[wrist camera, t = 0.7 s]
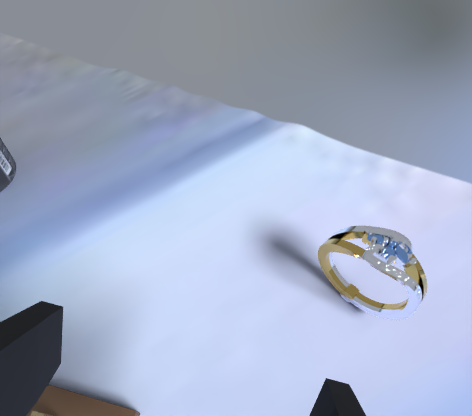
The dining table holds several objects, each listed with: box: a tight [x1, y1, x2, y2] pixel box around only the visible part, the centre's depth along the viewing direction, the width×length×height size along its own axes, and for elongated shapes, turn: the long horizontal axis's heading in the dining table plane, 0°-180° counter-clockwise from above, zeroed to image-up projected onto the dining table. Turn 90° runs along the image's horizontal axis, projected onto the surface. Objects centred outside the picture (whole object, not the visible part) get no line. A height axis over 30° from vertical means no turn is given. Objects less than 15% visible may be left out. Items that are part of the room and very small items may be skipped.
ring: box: [318, 226, 427, 320], centre depth 23 cm, size 7×3×8 cm, turn 44°
